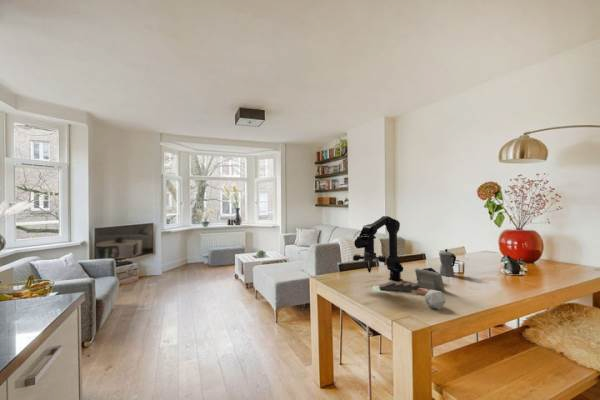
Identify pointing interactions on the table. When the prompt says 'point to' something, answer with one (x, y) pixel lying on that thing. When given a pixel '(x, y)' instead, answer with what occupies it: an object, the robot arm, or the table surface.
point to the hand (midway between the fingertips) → (369, 272)
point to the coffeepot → (447, 263)
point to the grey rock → (434, 299)
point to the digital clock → (429, 280)
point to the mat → (391, 291)
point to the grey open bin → (430, 270)
